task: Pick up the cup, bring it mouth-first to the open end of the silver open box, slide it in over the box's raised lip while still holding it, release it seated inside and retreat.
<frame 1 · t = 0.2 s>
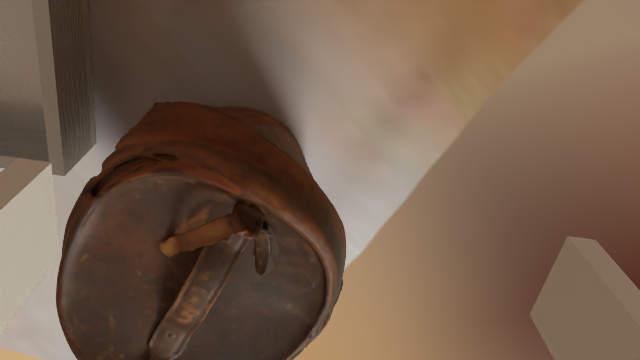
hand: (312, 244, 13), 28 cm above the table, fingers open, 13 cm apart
case: (236, 170, 43), on the table
silver open box: (4, 21, 37), on the table
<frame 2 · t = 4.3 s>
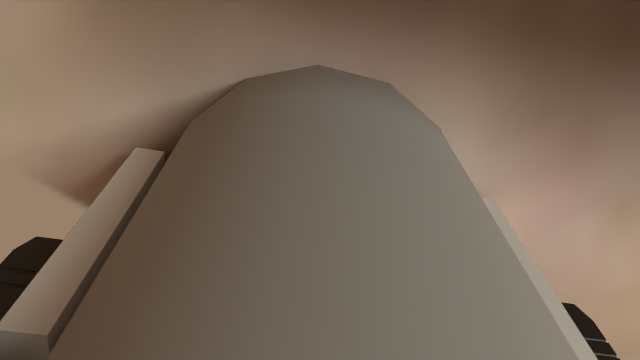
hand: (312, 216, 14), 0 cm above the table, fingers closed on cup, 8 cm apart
cup: (313, 205, 15), on the table, touching gripper
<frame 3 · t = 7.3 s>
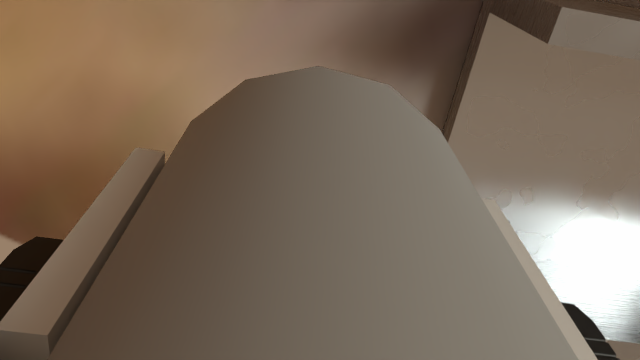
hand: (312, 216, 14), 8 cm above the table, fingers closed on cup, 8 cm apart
cup: (313, 206, 14), point 7 cm above the table, touching gripper
silver open box: (633, 161, 22), on the table
when the fingers open (3 cm above the table, at t = 10.8 s): cup drops 1 cm, resting on silver open box.
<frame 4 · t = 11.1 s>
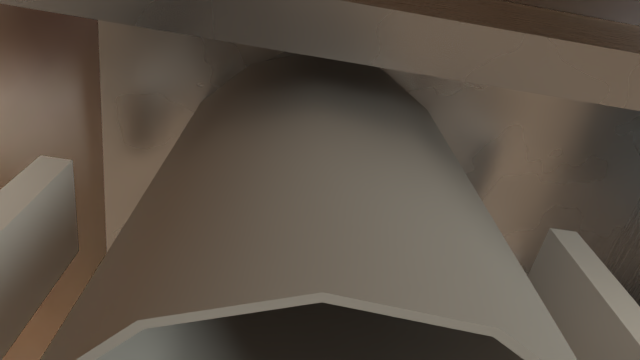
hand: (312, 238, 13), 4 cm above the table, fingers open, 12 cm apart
cup: (312, 182, 16), point 1 cm above the table, touching silver open box
silver open box: (386, 182, 17), on the table
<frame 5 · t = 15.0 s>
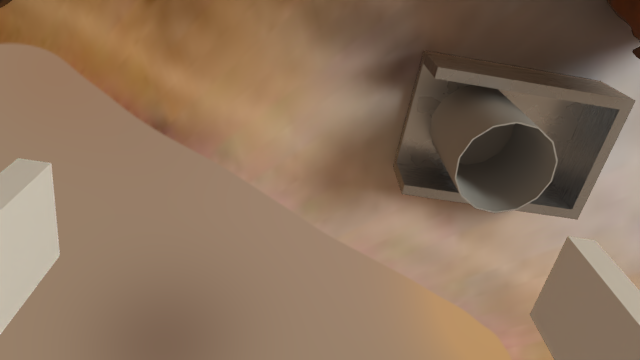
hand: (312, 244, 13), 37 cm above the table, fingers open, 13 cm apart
cup: (470, 124, 50), point 1 cm above the table, touching silver open box
silver open box: (492, 125, 51), on the table
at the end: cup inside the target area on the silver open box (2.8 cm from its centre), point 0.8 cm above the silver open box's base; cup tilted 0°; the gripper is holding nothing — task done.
